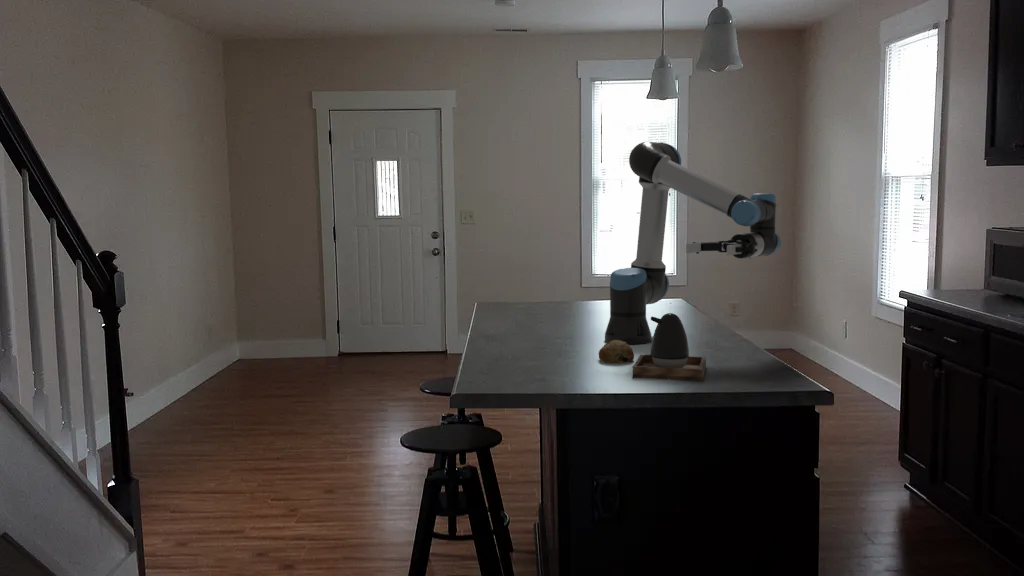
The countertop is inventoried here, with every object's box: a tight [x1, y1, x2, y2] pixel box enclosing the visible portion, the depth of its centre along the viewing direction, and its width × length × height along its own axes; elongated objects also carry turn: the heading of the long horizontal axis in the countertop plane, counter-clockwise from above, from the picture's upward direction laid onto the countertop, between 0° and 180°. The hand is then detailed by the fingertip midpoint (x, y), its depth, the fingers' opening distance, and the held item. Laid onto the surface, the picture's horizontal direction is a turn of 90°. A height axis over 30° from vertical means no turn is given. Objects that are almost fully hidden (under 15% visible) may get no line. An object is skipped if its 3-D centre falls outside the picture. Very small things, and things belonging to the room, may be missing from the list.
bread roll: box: [598, 340, 635, 365], centre depth 256 cm, size 10×10×8 cm
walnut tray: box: [632, 353, 707, 382], centre depth 239 cm, size 18×18×3 cm
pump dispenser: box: [650, 312, 690, 368], centre depth 238 cm, size 10×10×15 cm
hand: (707, 249), depth 254 cm, fingers open, 13 cm apart
